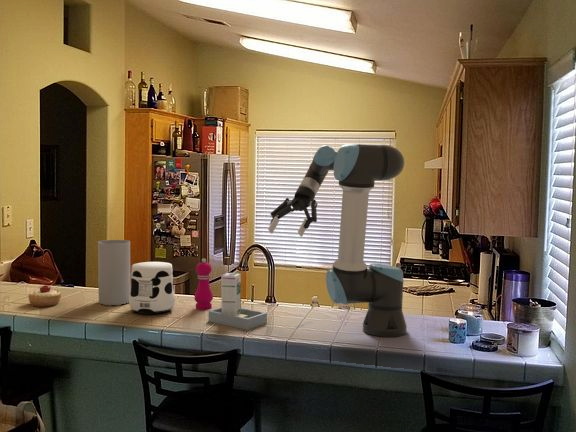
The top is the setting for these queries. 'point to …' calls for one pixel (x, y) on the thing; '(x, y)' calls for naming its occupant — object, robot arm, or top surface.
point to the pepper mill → (203, 286)
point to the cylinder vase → (114, 272)
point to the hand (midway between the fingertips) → (284, 232)
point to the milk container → (151, 287)
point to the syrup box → (231, 293)
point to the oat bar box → (242, 315)
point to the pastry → (44, 297)
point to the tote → (239, 318)
